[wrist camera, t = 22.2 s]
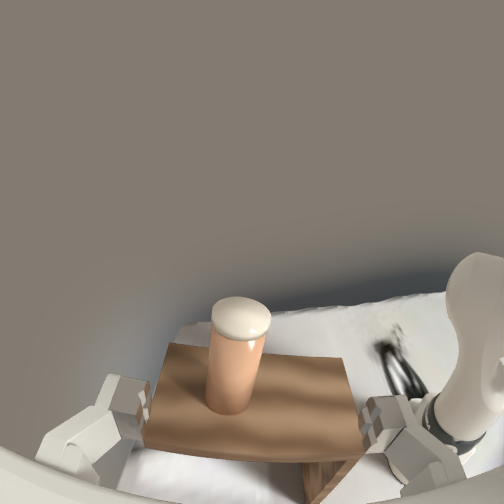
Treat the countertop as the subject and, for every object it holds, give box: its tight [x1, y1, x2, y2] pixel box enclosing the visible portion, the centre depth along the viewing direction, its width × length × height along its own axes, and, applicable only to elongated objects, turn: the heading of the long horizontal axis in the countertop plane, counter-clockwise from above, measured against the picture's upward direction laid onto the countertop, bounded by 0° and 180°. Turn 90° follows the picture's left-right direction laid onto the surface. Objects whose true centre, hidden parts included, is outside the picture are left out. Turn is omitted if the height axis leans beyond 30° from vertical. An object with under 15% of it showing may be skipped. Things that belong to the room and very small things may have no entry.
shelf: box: [143, 343, 365, 504], centre depth 38 cm, size 15×23×20 cm, turn 89°
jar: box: [205, 297, 271, 416], centre depth 31 cm, size 5×5×12 cm
